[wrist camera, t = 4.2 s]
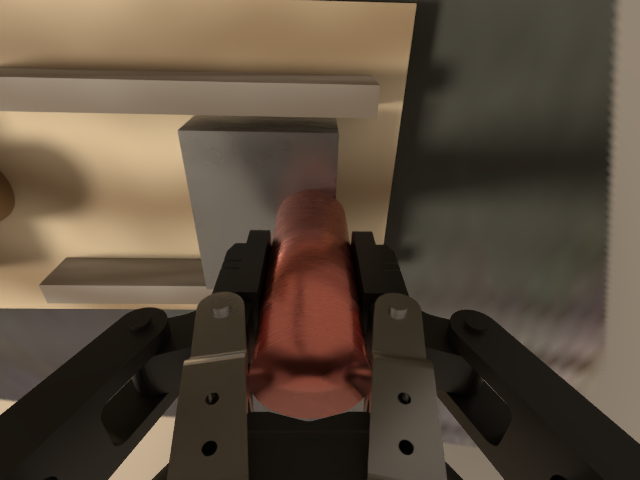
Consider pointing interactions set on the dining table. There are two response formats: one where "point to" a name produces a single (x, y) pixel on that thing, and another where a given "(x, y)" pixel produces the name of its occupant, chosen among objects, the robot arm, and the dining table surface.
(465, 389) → the robot arm
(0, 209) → the nut
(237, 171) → the plate with copper rod
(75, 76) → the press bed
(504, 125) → the dining table surface
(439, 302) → the dining table surface
